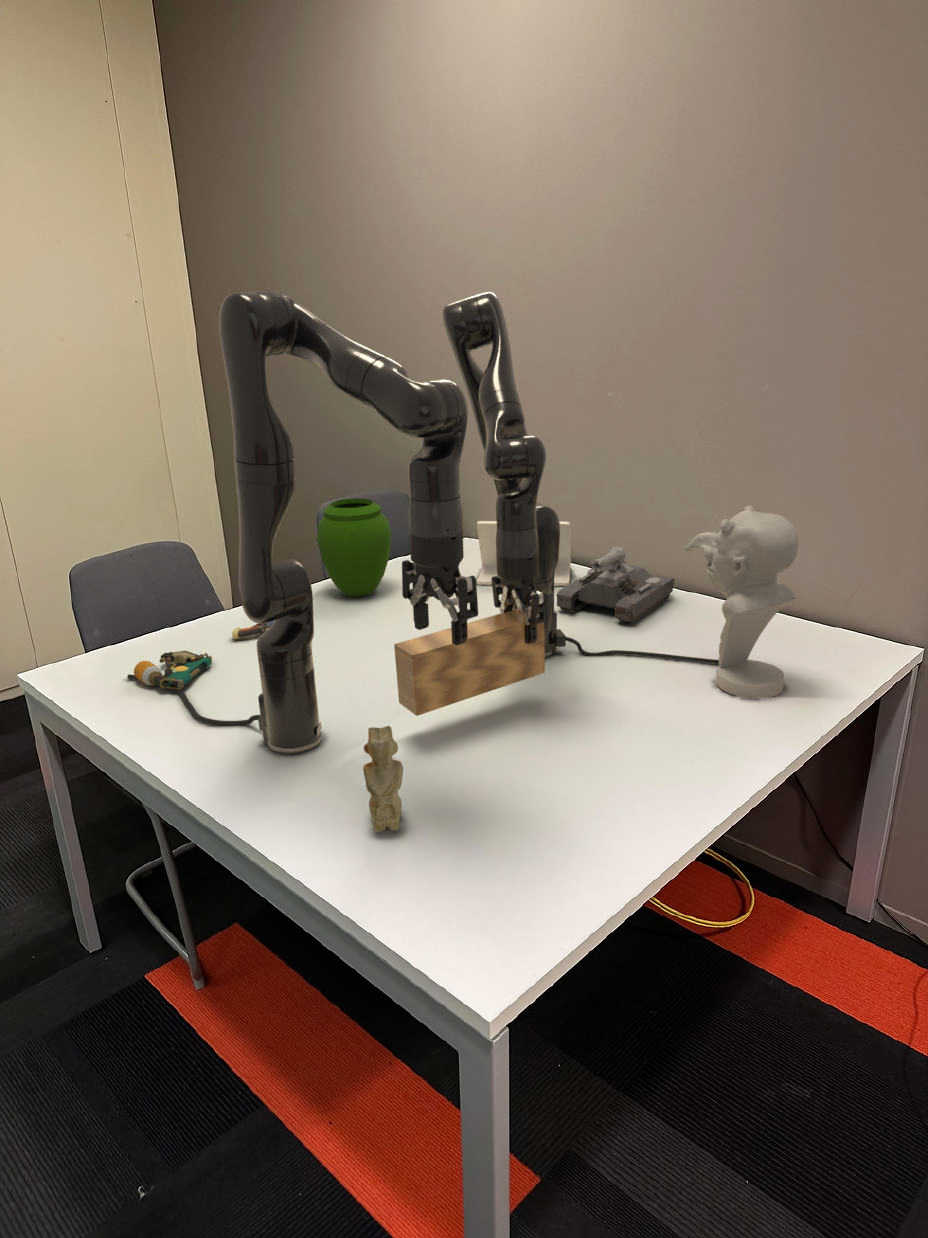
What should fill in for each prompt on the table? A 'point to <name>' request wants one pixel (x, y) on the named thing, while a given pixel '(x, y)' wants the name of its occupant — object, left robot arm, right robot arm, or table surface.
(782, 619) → the table surface
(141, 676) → the spray gun
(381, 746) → the sculpture
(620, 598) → the toy
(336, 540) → the vase
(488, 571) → the tablet stand
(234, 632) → the toy gun
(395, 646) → the box
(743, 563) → the bust sculpture
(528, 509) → the right robot arm
